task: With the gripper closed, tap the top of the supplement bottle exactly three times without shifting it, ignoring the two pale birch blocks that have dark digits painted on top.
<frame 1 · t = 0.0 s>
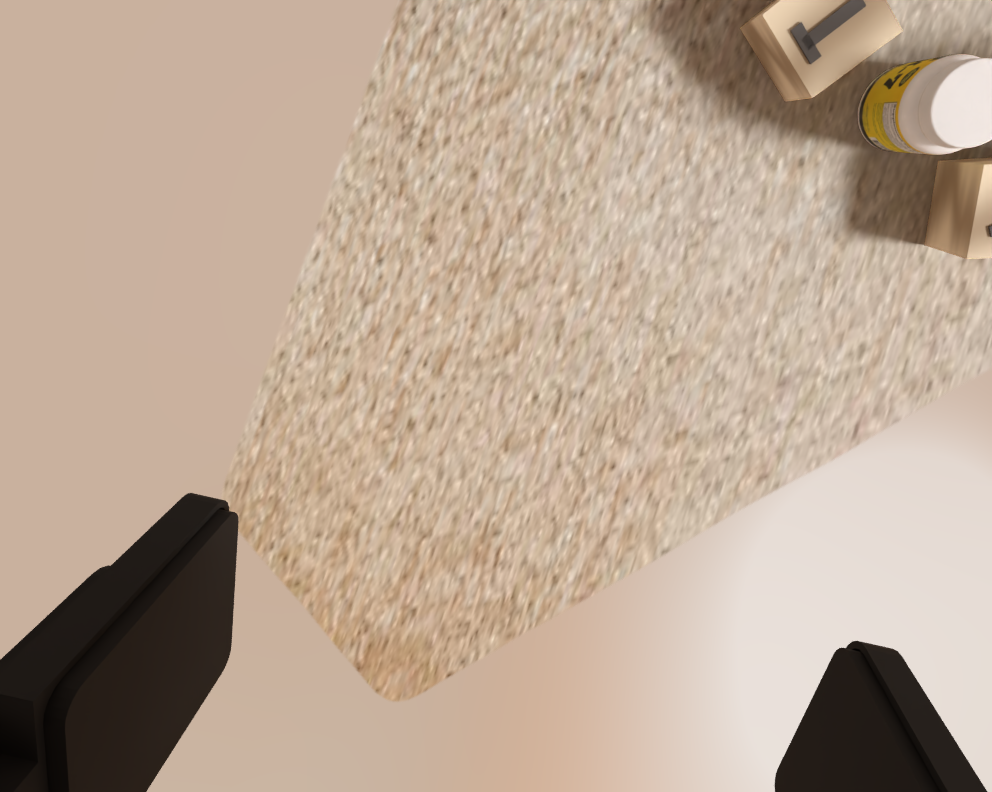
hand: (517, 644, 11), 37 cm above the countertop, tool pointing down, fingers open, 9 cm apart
digit block one: (801, 35, 39), on the countertop
supplement bottle: (896, 108, 40), on the countertop
digit block seven: (974, 201, 42), on the countertop
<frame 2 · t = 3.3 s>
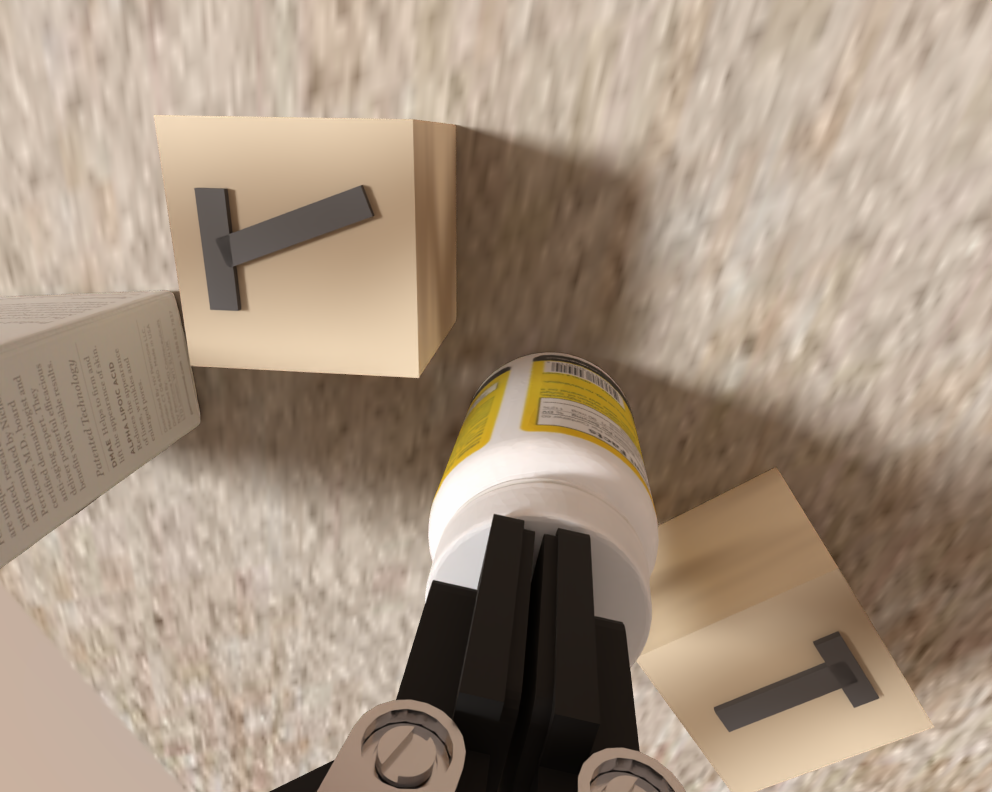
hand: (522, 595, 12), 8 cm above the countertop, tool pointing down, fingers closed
digit block one: (736, 568, 21), on the countertop
supplement bottle: (550, 425, 20), on the countertop, touching gripper
digit block seven: (364, 224, 18), on the countertop
skincare box: (107, 352, 21), on the countertop
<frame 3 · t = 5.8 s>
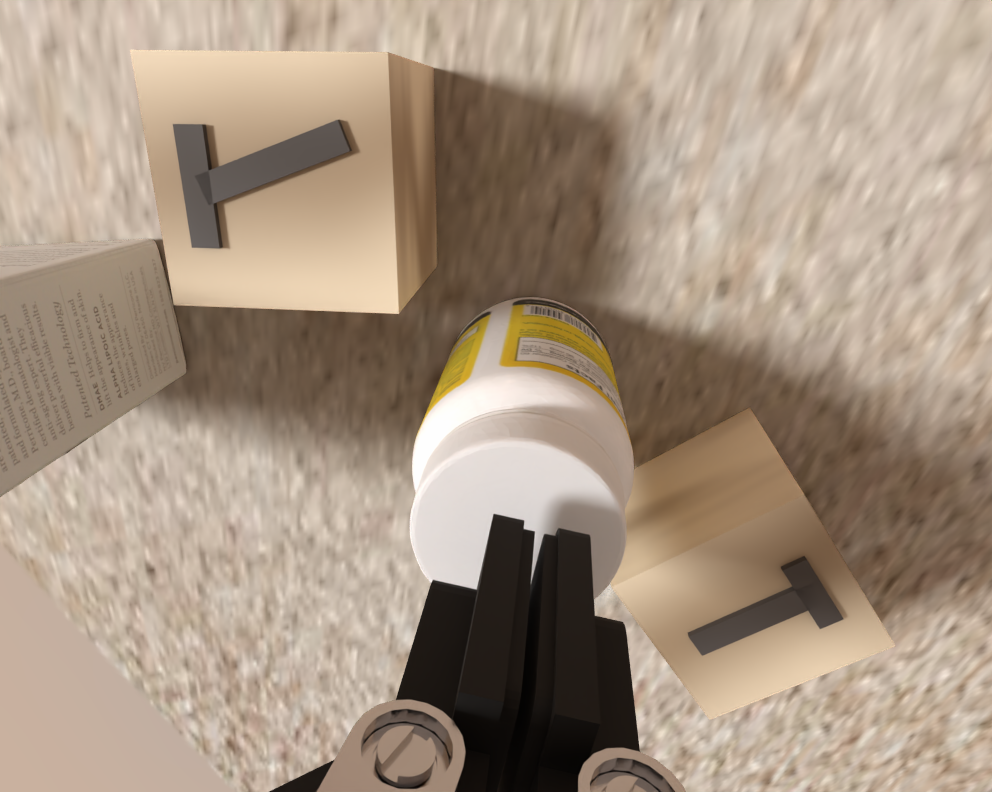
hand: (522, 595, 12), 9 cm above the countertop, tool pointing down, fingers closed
digit block one: (712, 507, 21), on the countertop
supplement bottle: (531, 370, 20), on the countertop
digit block seven: (344, 169, 18), on the countertop
skincare box: (91, 303, 21), on the countertop
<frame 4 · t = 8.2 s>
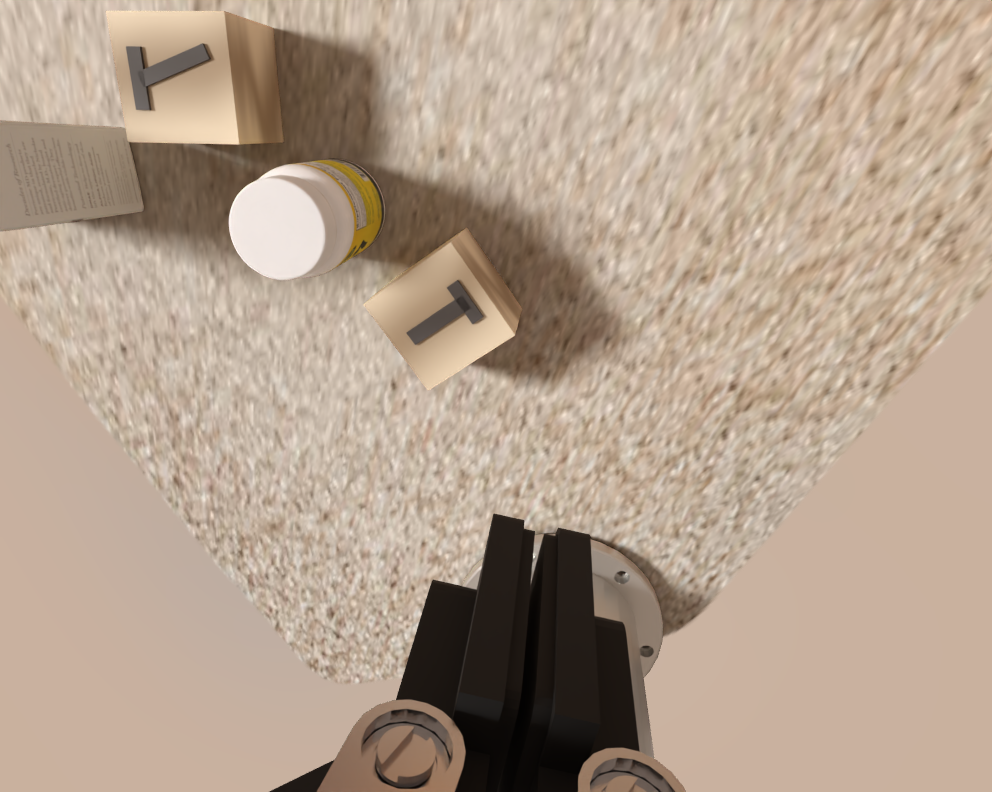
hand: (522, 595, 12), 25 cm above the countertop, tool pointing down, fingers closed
digit block one: (456, 294, 36), on the countertop
supplement bottle: (342, 207, 35), on the countertop
digit block seven: (229, 86, 33), on the countertop
skincare box: (89, 169, 35), on the countertop
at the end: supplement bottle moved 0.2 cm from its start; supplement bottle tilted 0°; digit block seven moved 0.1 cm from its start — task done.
